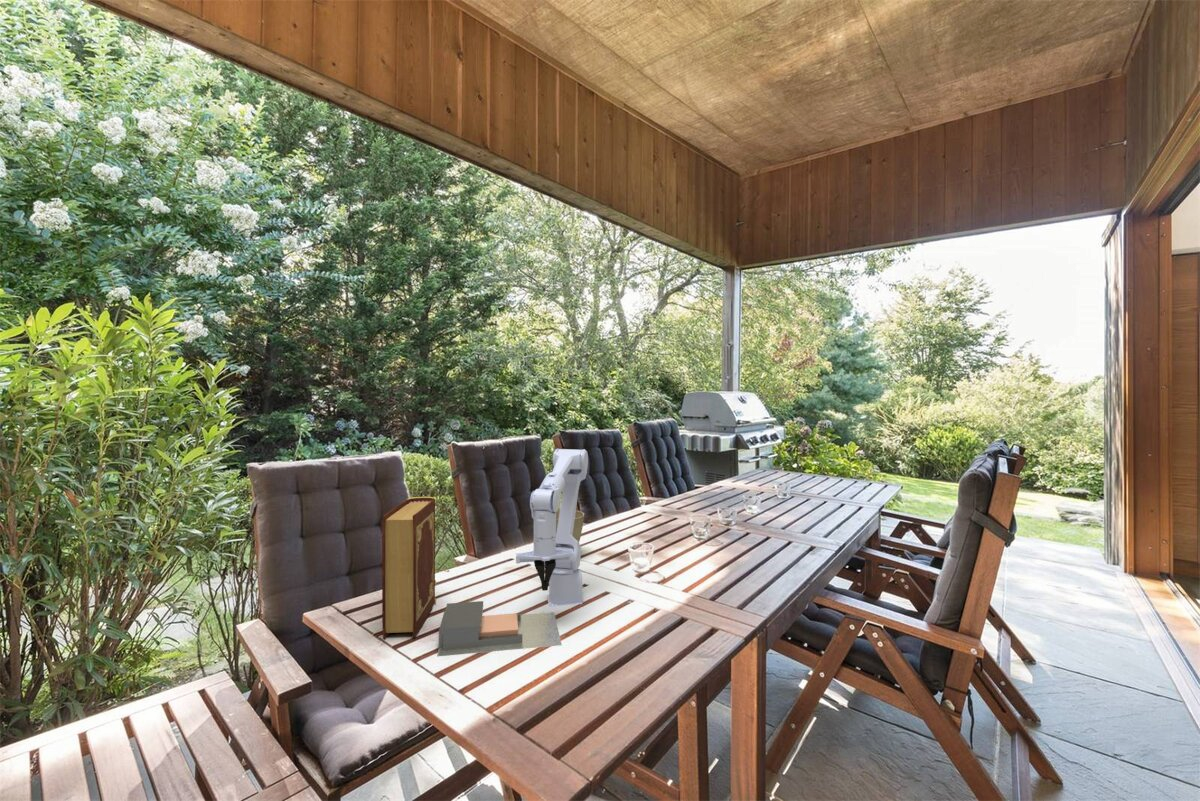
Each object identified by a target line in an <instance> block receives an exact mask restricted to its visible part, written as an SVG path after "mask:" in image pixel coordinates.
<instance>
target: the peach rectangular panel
mask: <svg viewBox="0 0 1200 801" xmlns="http://www.w3.org/2000/svg"><path fill="white" fill-rule="evenodd" d="M517 613H518V612H516V613H515V614H514V613H506V614H505V613H504V614H502V615H501V614H492V615H491V614H490V616H488V615H482V625H481V631H479V638H480V637H492V636H503V635H515V634H518V621H517Z"/></svg>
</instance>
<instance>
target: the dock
mask: <svg viewBox="0 0 1200 801" xmlns="http://www.w3.org/2000/svg"><path fill="white" fill-rule="evenodd" d="M483 611H484V600H481V601H480V600H479V601H467V602H466V601H465V602H451V603H450V602H449V603H446V607H445V610H444V611H443V615H442V618H441V621H440V622H441V623H440V626H439V630H438V651H437V653H436V657H446V656H457V655H469V654H479V653H480V654H482V653H492V652H500V651H501V652H502V651H512V650H514V651H515V650H524V649H525V650H526V649H536V648H545V647H557V646H562V641H561V637H560V636H561V635H560V632H559V627H558V623H557V619H556V615H555V612H554V611H553V612H552V611H551V612H539V613H525V614H522V613H521V612H516V613H517V621H518V634H515V635H503V636H492V637H480V638H479V631H481V625H482V616H483V613H484V612H483ZM513 614H515V613H513ZM490 615H491V614H490ZM490 615H487V616H490ZM500 615H502V614H500Z"/></svg>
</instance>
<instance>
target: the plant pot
mask: <svg viewBox="0 0 1200 801" xmlns="http://www.w3.org/2000/svg"><path fill="white" fill-rule="evenodd" d="M559 513H560V509H558V510H557V512H556V534H557V527H558V520H559ZM584 519H585V513H584V512H583V511H580V510H576V513H575V521H574V529H573V537H574V538H575V539H576V540H577V541H578V542H579V543H580V541H581V537H582V531H583V526H584ZM569 548H572V547H569Z"/></svg>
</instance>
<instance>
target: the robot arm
mask: <svg viewBox="0 0 1200 801" xmlns="http://www.w3.org/2000/svg"><path fill="white" fill-rule="evenodd" d="M552 465H553V469H552V472H549V473H547V474H546V475H545V477H544V479H543V480H542V482H541V484H540V486H539V487H538V488H536V489H535V490H532V492H531V495H530V498H529V507H530V510H531V518H532V519H533V551H527V552H522V553H520V552H519V553H515V563H516V564H521V563H531V562H533V563H534V567H535V570H536V572H537V574H538V576H539V580H540V583H541V590H542V591H543V592H545V591H548V590H549V591H548V592H549V593H548V594H547V595H546V600H547V603H548V607H559V606H560V607H562V606H571V605H572V606H573V605H582V604H583V573H582V569H580V565H581V558H582V556H581V550H582V546H581V544H580V541H579V542H578V541H577V540H576V539H575V538H574V537H573V529H574V521H575V513H576V511H577V505H578V503H577V502H578V499H579V498H578V497H579V491H580V490H579V489H580V485H581V482H582V481H584V480H586V478H587V472H588V468H589V466H588V465H589V454H588V451H587V450H586V449H585V448H583V449H573V448H572V449H571V448H570V449H566V448H556V449H555V450H554V451H553V455H552ZM557 510H560V513H559V520H558V527H557V534H556V512H557ZM569 547H572V548H569Z"/></svg>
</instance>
